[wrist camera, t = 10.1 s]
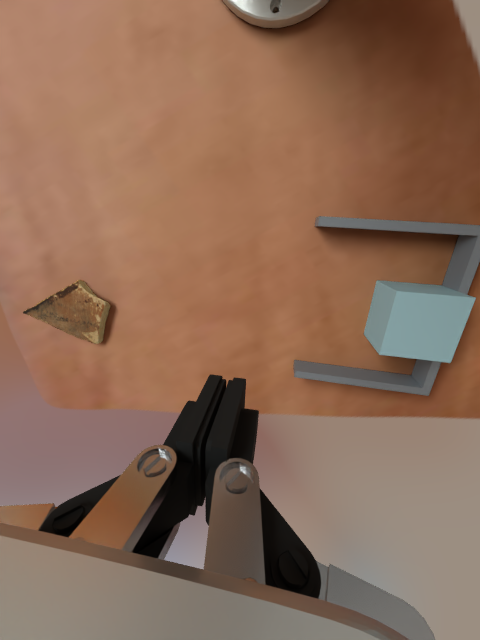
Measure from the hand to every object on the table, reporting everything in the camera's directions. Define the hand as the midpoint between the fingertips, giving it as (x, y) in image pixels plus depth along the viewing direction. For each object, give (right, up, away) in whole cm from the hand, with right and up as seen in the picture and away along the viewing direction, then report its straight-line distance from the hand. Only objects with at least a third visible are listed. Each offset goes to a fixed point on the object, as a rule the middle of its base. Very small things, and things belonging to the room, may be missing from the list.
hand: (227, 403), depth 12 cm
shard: (-21, +4, +22) cm, 31 cm away
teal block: (+17, +5, +15) cm, 23 cm away
